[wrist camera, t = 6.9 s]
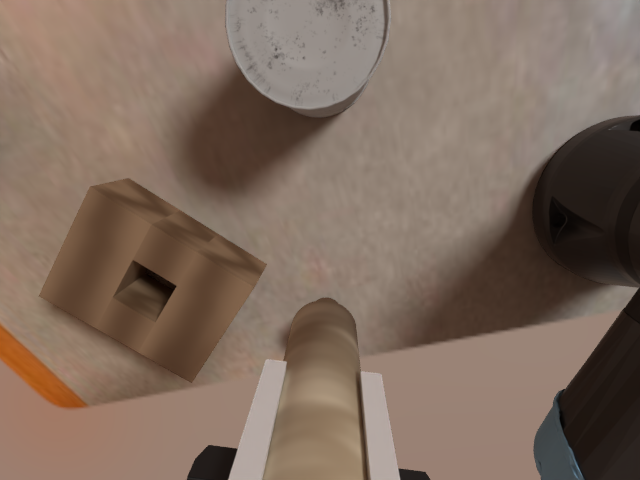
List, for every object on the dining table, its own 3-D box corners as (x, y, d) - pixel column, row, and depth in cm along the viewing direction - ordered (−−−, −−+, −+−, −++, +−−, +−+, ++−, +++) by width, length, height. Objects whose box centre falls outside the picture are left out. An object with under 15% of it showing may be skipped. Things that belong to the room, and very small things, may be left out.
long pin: (369, 322, 18) (460, 845, 5) (332, 369, 19) (325, 926, 6) (314, 288, 18) (249, 754, 5) (279, 337, 19) (137, 855, 5)
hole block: (266, 264, 39) (254, 287, 33) (211, 348, 42) (191, 382, 36) (128, 178, 37) (89, 186, 31) (81, 272, 40) (38, 296, 34)
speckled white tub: (372, 116, 34) (389, 107, 23) (268, 119, 35) (232, 112, 23) (373, -3, 32) (393, -83, 20) (261, 2, 32) (216, -73, 21)
